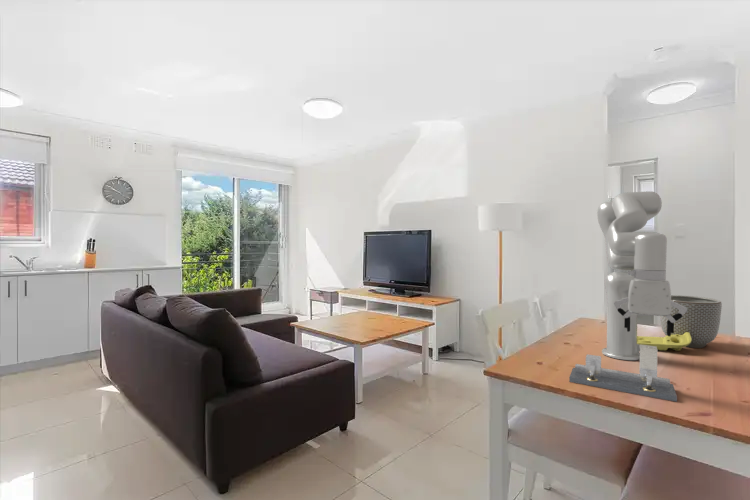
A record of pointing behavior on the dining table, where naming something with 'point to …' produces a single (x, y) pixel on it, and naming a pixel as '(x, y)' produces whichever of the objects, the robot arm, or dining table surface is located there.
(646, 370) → the grey block with peg
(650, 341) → the plastic component
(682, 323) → the planter
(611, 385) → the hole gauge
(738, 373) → the dining table surface
